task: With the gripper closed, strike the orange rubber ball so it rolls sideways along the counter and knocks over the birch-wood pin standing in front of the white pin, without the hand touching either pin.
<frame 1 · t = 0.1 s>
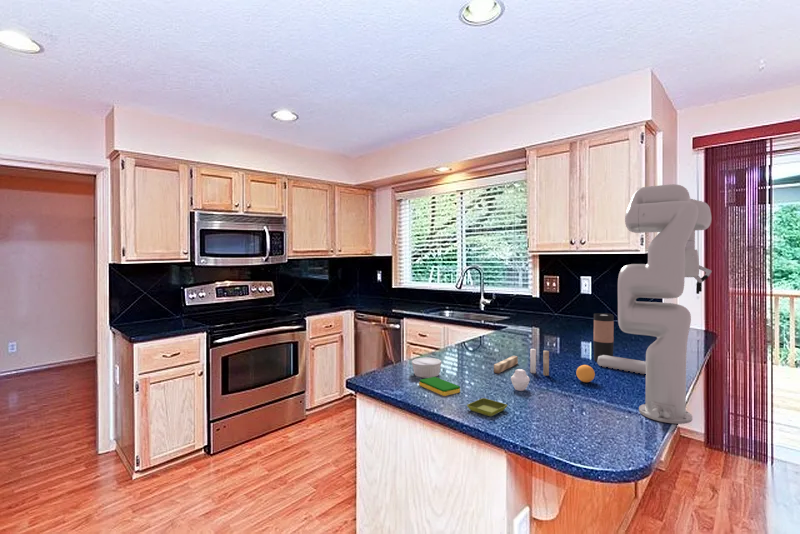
hand: (681, 293, 150), 31 cm above the counter, tool pointing down, fingers open, 9 cm apart
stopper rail: (506, 367, 165), on the counter
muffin: (520, 389, 139), on the counter
birch pin: (546, 374, 155), on the counter
ramekin: (426, 375, 157), on the counter
olive square dish: (487, 412, 120), on the counter
dish sponge: (439, 390, 140), on the counter
white pin: (533, 372, 159), on the counter
ball: (585, 373, 147), on the counter
travel mug: (603, 361, 175), on the counter
tube: (630, 372, 160), on the counter
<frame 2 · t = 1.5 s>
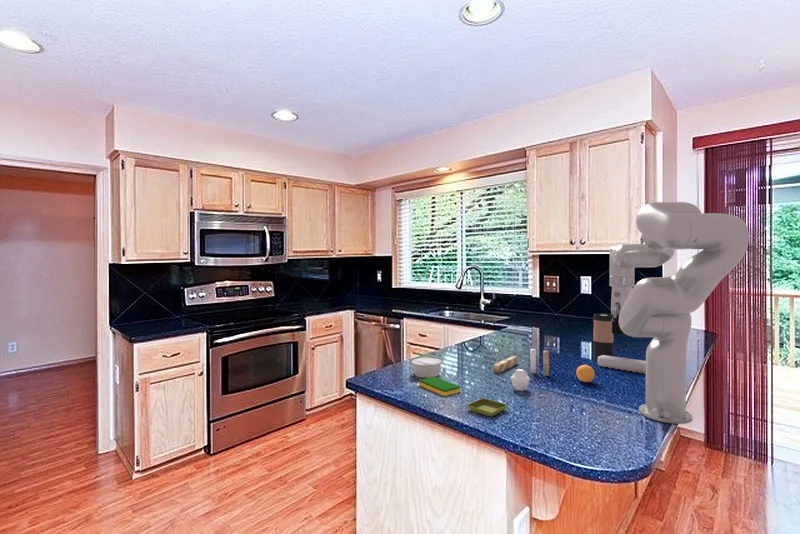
hand: (621, 331, 140), 19 cm above the counter, tool pointing down, fingers open, 9 cm apart
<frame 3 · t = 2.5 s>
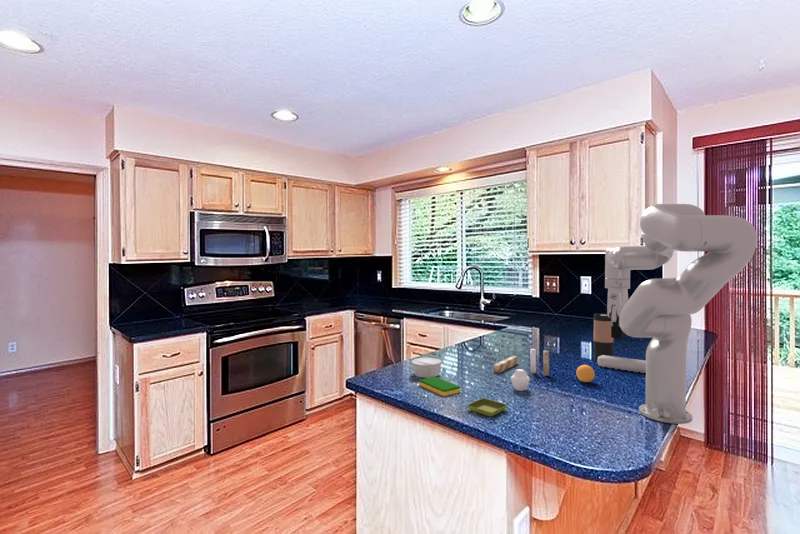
hand: (616, 337, 140), 17 cm above the counter, tool pointing down, fingers closed
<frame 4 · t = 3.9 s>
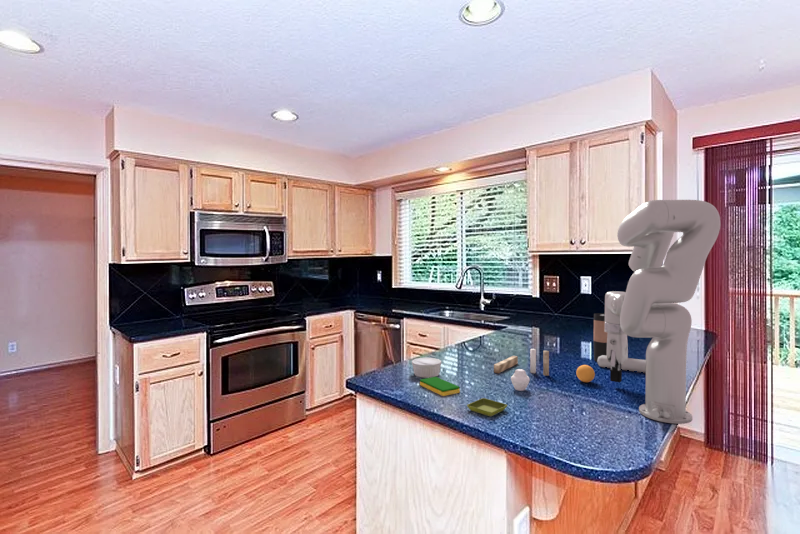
hand: (615, 381, 141), 2 cm above the counter, tool pointing down, fingers closed
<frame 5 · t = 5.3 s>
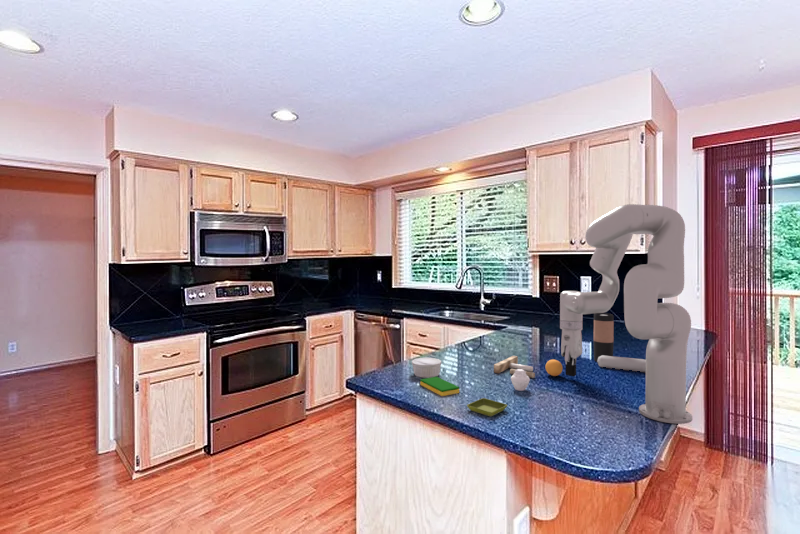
hand: (570, 375, 150), 2 cm above the counter, tool pointing down, fingers closed
birch pin: (533, 375, 152), point 1 cm above the counter, tilted 90°
white pin: (532, 369, 160), point 1 cm above the counter, tilted 90°
ball: (553, 367, 154), on the counter
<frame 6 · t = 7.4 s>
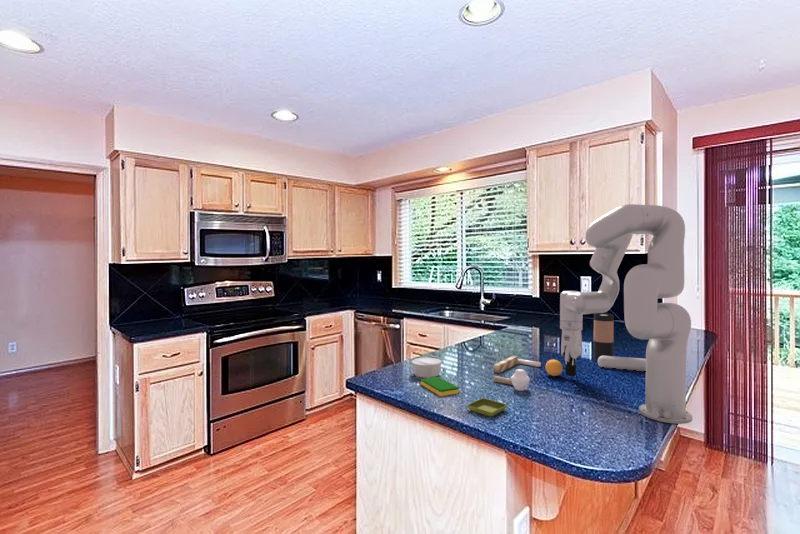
hand: (570, 375, 150), 2 cm above the counter, tool pointing down, fingers closed
birch pin: (518, 383, 142), point 1 cm above the counter, tilted 90°
white pin: (539, 364, 167), point 1 cm above the counter, tilted 90°
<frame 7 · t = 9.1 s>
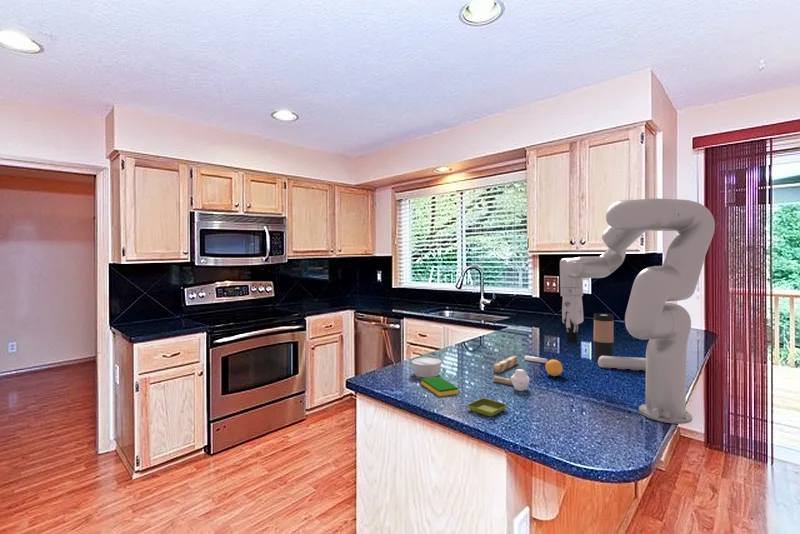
hand: (572, 342, 149), 13 cm above the counter, tool pointing down, fingers closed
white pin: (546, 361, 172), point 1 cm above the counter, tilted 90°
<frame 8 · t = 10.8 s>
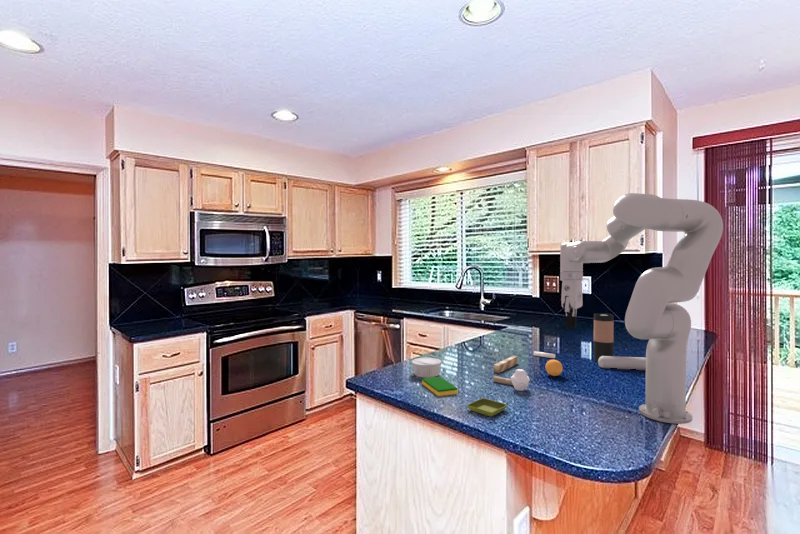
hand: (571, 326, 149), 19 cm above the counter, tool pointing down, fingers closed
white pin: (554, 356, 180), point 1 cm above the counter, tilted 90°
at the end: birch pin tilted 90°; birch pin never touched the robot; ball moved 11.4 cm from its start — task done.
